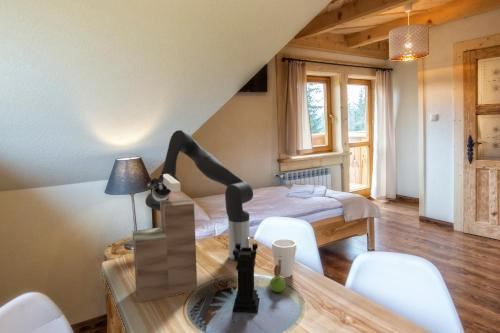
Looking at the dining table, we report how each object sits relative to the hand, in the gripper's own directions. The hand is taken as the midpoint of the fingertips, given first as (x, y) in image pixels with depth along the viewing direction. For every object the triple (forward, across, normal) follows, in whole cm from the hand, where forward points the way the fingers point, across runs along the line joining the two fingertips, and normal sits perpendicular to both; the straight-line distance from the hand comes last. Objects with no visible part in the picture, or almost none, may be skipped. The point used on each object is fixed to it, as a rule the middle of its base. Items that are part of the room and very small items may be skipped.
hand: (167, 176), depth 137 cm
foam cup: (+1, +39, +46) cm, 60 cm away
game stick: (+3, 0, +5) cm, 6 cm away
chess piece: (+14, +17, +53) cm, 57 cm away
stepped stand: (-5, -5, +42) cm, 42 cm away
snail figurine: (+10, +31, +51) cm, 60 cm away
